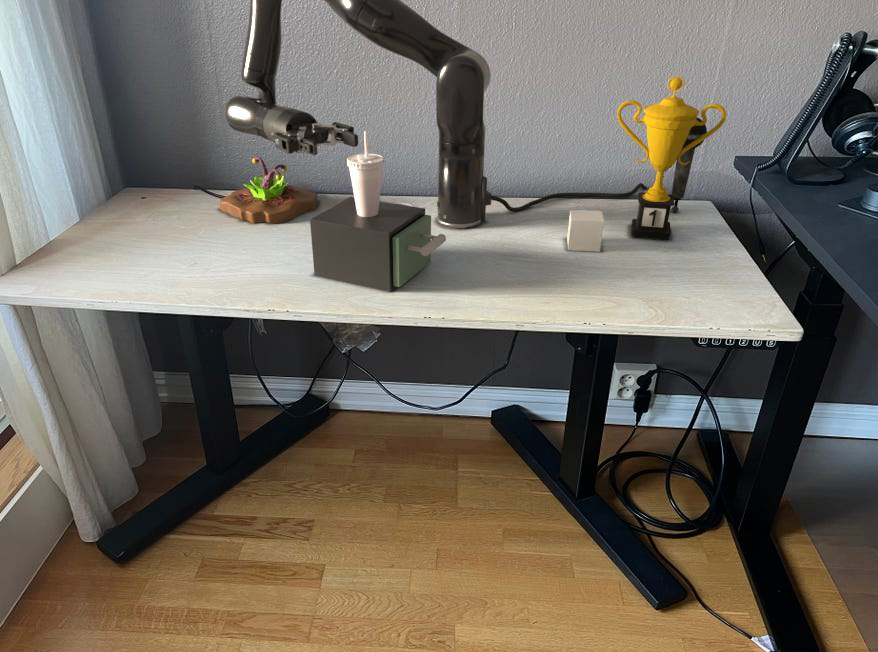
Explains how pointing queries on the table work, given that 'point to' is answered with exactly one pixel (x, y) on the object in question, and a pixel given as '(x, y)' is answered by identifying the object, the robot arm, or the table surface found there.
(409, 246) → the drawer
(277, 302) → the table surface
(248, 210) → the plant
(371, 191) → the smoothie
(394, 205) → the cabinet
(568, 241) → the off-white cube
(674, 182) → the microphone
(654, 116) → the trophy
